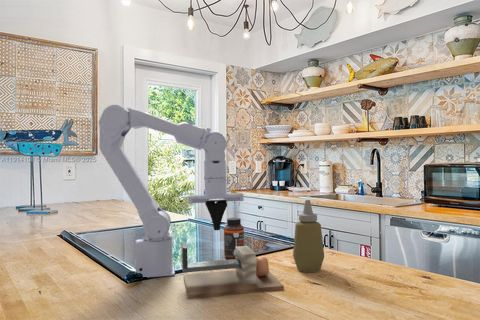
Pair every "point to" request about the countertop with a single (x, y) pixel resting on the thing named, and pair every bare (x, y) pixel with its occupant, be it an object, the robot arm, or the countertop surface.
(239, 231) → the supplement bottle
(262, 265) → the block
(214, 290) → the stand
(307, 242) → the squeeze bottle
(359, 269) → the countertop surface
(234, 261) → the grey l-shaped bar
